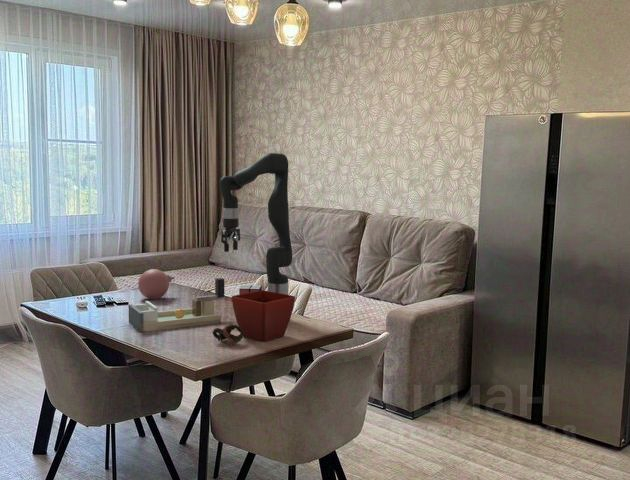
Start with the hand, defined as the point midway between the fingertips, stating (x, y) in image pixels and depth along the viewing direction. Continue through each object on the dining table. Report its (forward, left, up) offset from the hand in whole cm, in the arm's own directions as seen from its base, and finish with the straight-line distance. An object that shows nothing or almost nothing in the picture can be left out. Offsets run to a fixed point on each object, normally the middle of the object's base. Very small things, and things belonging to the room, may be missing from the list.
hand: (231, 250), depth 307 cm
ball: (-17, +32, -24) cm, 43 cm away
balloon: (+35, +26, -28) cm, 52 cm away
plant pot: (-54, +9, -28) cm, 62 cm away
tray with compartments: (-17, +33, -28) cm, 46 cm away
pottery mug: (-57, +25, -28) cm, 68 cm away
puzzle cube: (-3, -9, -28) cm, 30 cm away
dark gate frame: (-17, +18, -26) cm, 36 cm away
